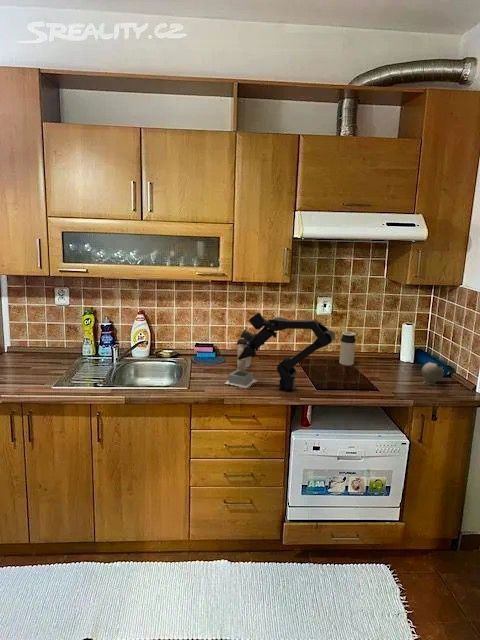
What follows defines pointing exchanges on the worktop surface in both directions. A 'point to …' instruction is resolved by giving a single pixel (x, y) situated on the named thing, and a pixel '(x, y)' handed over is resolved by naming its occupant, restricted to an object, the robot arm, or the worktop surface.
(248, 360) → the coffee cup
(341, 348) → the travel mug
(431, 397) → the worktop surface
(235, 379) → the socket
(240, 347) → the peg
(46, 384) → the worktop surface
